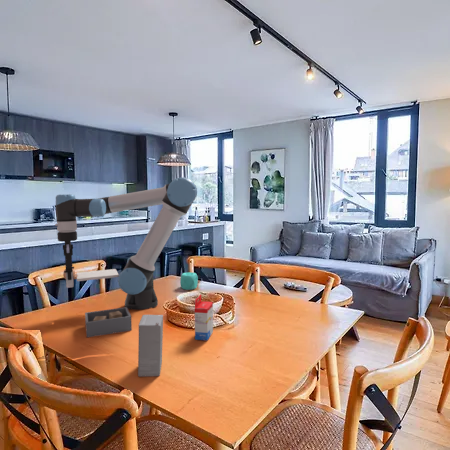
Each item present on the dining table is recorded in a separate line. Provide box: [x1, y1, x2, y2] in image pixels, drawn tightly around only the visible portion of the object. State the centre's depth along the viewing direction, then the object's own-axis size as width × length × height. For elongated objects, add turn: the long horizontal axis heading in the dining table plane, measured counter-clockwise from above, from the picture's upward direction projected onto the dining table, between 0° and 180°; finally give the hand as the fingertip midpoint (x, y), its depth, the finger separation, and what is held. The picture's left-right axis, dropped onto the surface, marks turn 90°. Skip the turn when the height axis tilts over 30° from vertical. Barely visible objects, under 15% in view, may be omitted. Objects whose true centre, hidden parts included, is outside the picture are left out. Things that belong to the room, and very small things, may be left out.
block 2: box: [109, 311, 122, 319], centre depth 137 cm, size 4×4×5 cm
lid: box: [63, 268, 120, 282], centre depth 150 cm, size 22×13×4 cm, turn 114°
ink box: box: [194, 294, 214, 341], centre depth 127 cm, size 8×5×15 cm, turn 168°
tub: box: [84, 306, 133, 338], centre depth 134 cm, size 16×12×6 cm
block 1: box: [93, 316, 106, 321], centre depth 132 cm, size 4×4×5 cm
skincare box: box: [137, 314, 164, 378], centre depth 103 cm, size 8×7×16 cm
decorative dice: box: [179, 271, 199, 291], centre depth 193 cm, size 8×8×8 cm
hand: (70, 285), depth 147 cm, fingers closed on lid, 4 cm apart
